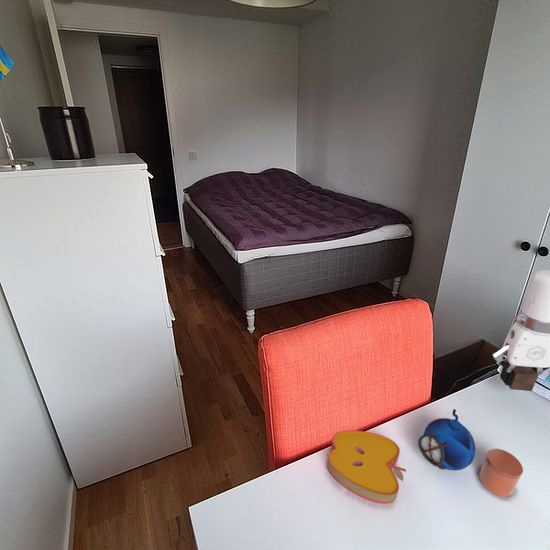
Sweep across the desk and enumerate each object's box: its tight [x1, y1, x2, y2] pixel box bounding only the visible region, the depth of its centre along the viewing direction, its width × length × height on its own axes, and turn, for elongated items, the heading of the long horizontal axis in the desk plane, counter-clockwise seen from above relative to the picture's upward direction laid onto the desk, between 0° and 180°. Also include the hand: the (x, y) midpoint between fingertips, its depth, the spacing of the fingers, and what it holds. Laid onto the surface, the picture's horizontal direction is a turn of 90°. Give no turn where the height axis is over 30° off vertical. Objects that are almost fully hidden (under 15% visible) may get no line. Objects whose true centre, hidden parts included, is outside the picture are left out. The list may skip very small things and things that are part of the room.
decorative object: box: [326, 429, 407, 505], centre depth 70 cm, size 14×4×15 cm
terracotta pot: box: [478, 448, 524, 498], centre depth 68 cm, size 6×6×6 cm
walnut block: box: [507, 363, 539, 392], centre depth 87 cm, size 5×5×5 cm
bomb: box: [417, 408, 477, 472], centre depth 70 cm, size 10×11×15 cm
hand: (516, 382), depth 88 cm, fingers closed on walnut block, 5 cm apart
